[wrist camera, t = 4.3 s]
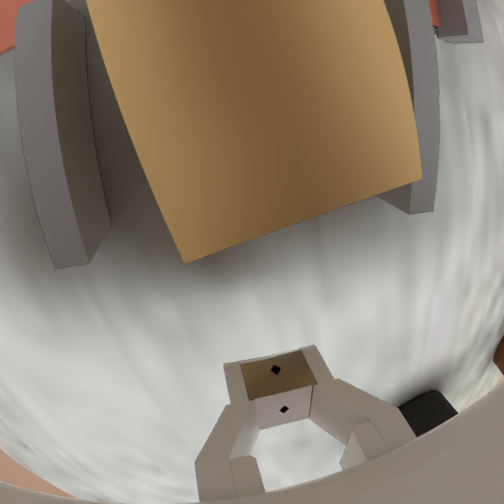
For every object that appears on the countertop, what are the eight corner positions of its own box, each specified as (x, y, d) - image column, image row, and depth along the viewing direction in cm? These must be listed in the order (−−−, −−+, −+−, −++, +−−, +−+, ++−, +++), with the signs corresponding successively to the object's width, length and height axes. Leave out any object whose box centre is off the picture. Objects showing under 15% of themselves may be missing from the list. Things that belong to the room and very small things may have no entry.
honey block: (277, -36, 7) (331, -102, 3) (336, 148, 11) (422, 178, 6) (117, 5, 7) (73, -57, 2) (186, 198, 11) (185, 264, 6)
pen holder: (421, 426, 26) (459, 486, 18) (353, 454, 25) (388, 528, 16) (456, 374, 22) (510, 443, 13) (382, 406, 20) (436, 500, 12)
